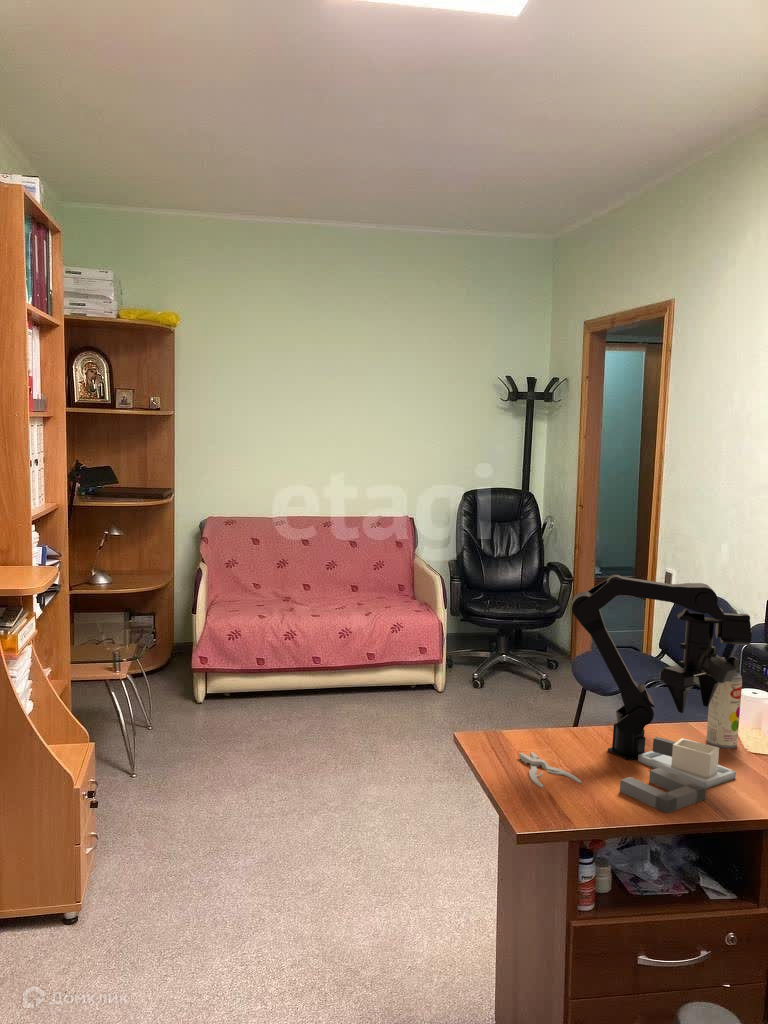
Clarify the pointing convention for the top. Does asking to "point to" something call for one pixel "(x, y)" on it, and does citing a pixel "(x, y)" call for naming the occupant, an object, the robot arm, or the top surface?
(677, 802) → the bay
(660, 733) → the top surface
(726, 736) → the aerosol can
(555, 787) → the top surface
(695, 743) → the box
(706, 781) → the tray
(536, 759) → the pliers
